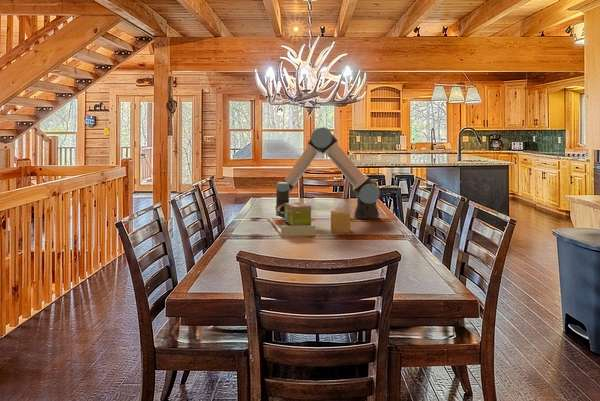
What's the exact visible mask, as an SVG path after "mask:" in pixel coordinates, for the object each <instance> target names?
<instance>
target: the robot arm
mask: <svg viewBox="0 0 600 401" xmlns="http://www.w3.org/2000/svg"><path fill="white" fill-rule="evenodd" d="M320 153H321V154H322V155H326V156H327V157H328V158H329V159H330V161H331V162H332V163H333V164H334V165H335V166H336V168H337V169H338V170H339V171H340V172H341V173H342V175H343V176H344V178H346V180H348V182H349V183H350V184H351V185H352V191H354V193H355V194H356V198H357V200H356V208H355V211H354V213H353V218H355V219H359V220H360V219H361V220H376V219H379V218H380V212H379V210H378V206H377V201H378V200H379V198H380V195H381V192H380V191H381V190H380V189H379V186H378V183H377V182H378V181H377V180H376V179H371V178H370V177H369V176H366V175H364V174H363V173H362V172H361V171H360V170H359V168H358V167H357V166H356V164H355V163H354V162H353V161H352V160H351V159H350V157H349V156H348V155H347V154H346V153H345V151H344V150H343V149H342V148H341V146H339V140H338V139H337V138H336V136H335V135H334V134H333V133H332V132H331V129H329V128H328V127H325V126H317V127H315V129H314V130H313V131H312V133H311V136H310V139H309V140H308V142H307V147H306V148H305V149H304V151H303V152H302V154H301V155H300V157H299V158H298V159H297V161H296V162H295V164H294V165H293V166H292V168H291V170H290V171H289V172H288V174H287V175H286V177H285V178H284V179H283V181H279V182H278V181H277V183H276V187H275V190H276V194H275V195H276V199H275V200H276V201H275V204H276V205H275V212H276V213H275V216H276V217H280V218H283V219H285V203H290V194H291V192H292V190H294V188H295V186H296V185H297V183H298V182H299V181H300V179H301V178H302V177H303V175H304V173H305V172H306V171H307V169H308V168H309V167H310V165H311V164H312V163H313V161H314V160H315V158H316V157H317V156H318V154H320Z"/></svg>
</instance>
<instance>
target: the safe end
mask: <svg viewBox="0 0 600 401" xmlns="http://www.w3.org/2000/svg"><path fill="white" fill-rule="evenodd" d="M276 231H277V233H278V234H279V235H280V237H297V236H298V237H300V236H301V237H305V236H306V237H307V236H316V225H315V224H311V225H295V226H285V225H280V229H277V230H276Z"/></svg>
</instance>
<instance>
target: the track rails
mask: <svg viewBox="0 0 600 401" xmlns="http://www.w3.org/2000/svg"><path fill="white" fill-rule="evenodd" d="M273 220H274V219H273V218H272V217H268V218H267V221H268V222H269V223H270V225H272V227H273V228H274V229H275V230H276V231H277V229H281V227H280V226H279V224H276V223H275V222H274V221H273Z"/></svg>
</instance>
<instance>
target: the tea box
mask: <svg viewBox="0 0 600 401" xmlns="http://www.w3.org/2000/svg"><path fill="white" fill-rule="evenodd" d="M295 225H312V206H311V205H309V204H306V203H304V202H301V201H300V202H299V201H298V202H296V201H295V202H289V203H285V224H284V226H295Z"/></svg>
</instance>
